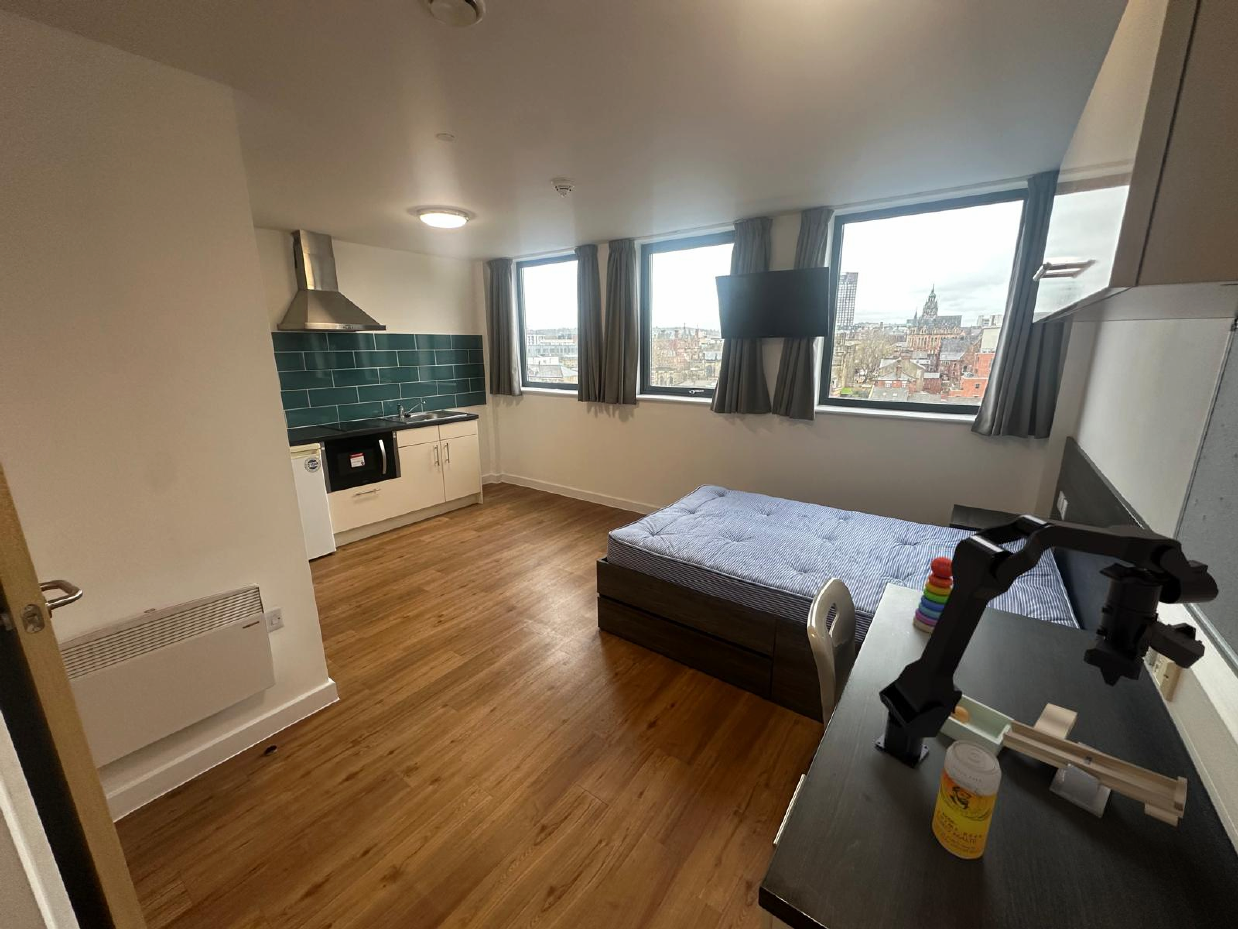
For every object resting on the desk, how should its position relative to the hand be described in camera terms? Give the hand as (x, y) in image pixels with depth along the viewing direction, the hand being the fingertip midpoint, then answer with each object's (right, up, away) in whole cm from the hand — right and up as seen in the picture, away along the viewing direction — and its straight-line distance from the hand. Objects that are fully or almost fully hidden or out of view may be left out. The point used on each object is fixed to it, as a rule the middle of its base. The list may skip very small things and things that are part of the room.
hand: (1109, 684), depth 82 cm
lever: (-6, -11, -3) cm, 13 cm away
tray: (-19, -11, +6) cm, 23 cm away
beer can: (-36, -17, -13) cm, 42 cm away
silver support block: (-10, -14, -6) cm, 19 cm away
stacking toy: (-6, -3, +38) cm, 39 cm away
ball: (-21, -9, +7) cm, 24 cm away
